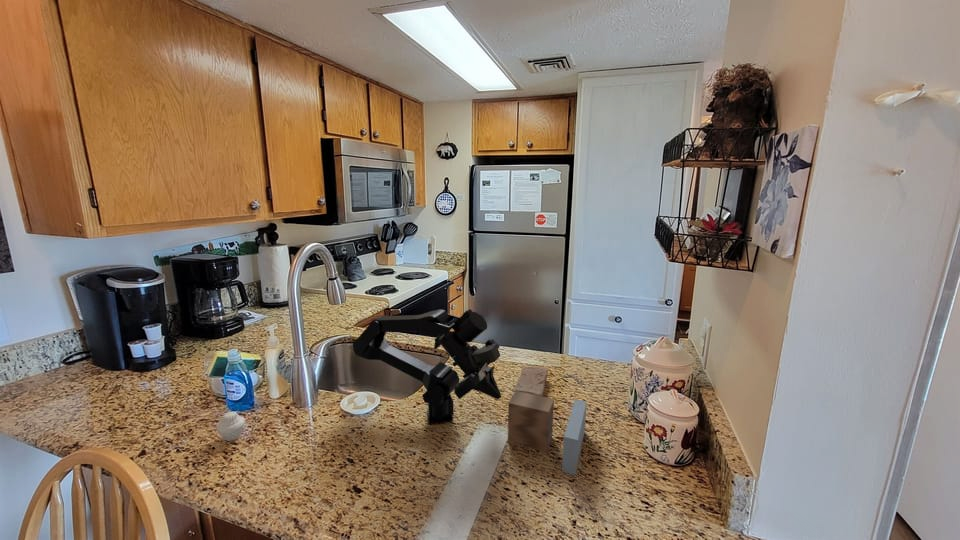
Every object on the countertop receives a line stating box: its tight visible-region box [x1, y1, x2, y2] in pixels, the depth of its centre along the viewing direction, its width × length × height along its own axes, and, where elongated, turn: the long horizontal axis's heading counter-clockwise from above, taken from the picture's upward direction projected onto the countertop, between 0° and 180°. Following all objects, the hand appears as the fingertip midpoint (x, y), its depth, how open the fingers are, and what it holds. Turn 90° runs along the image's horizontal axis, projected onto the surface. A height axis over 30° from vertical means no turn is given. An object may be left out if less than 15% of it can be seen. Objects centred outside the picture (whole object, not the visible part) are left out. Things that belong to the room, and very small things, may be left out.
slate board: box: [561, 399, 588, 476], centre depth 91 cm, size 3×16×9 cm, turn 158°
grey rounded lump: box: [216, 411, 246, 442], centre depth 96 cm, size 6×6×7 cm
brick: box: [514, 365, 549, 397], centre depth 118 cm, size 17×8×5 cm, turn 164°
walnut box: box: [507, 390, 555, 453], centre depth 95 cm, size 10×6×11 cm, turn 68°
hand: (499, 398), depth 97 cm, fingers closed
